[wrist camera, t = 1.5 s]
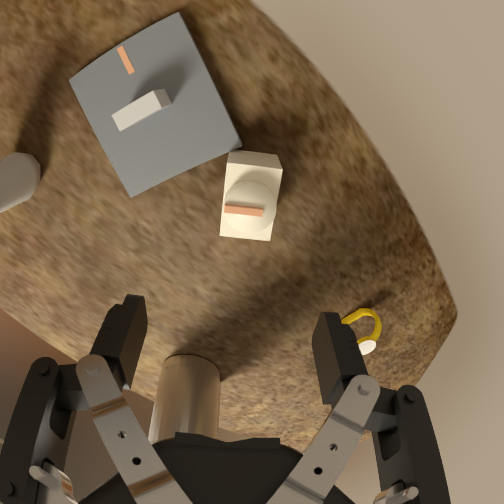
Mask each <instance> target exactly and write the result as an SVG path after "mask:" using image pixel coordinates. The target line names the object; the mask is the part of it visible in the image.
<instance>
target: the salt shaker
mask: <svg viewBox="0 0 504 504" xmlns="http://www.w3.org/2000/svg"><path fill="white" fill-rule="evenodd" d="M39 182H40V164H39V163H38V161H37V160H36V159H35V158H34V157H33V155H32V154H26V153H18V152H14V153H11V154H9V155H8V156H6V157H4V158H3V159H2V160H1V161H0V213H1V212H3V211H5V210H7V209H9V208H11V207H13V206H15V205H17V204H19V203H21V202H24V201H26V200H28V199H30V197H31V196H32V195H33V193H34V192H35V190H36V188H37V186H38V184H39Z"/></svg>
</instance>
